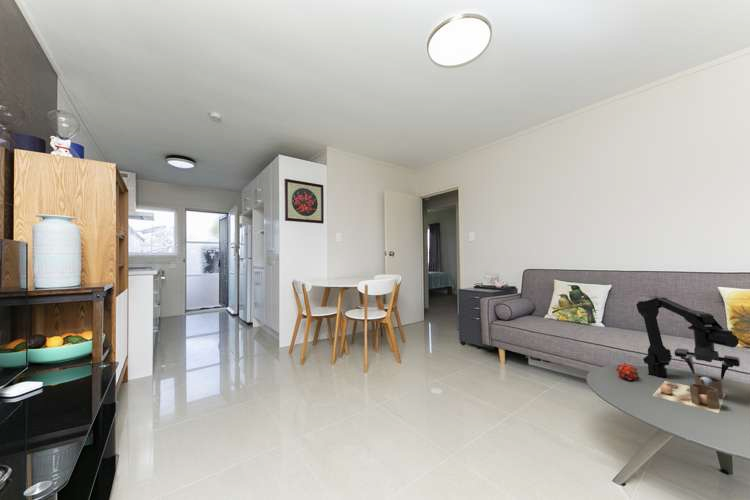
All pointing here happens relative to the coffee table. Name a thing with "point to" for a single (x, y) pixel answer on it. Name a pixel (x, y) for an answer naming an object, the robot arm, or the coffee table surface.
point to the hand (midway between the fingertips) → (707, 376)
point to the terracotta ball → (666, 389)
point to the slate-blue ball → (706, 381)
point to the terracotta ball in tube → (703, 399)
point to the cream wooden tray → (695, 393)
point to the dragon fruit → (627, 371)
